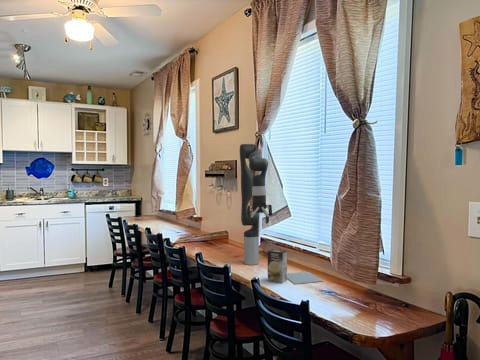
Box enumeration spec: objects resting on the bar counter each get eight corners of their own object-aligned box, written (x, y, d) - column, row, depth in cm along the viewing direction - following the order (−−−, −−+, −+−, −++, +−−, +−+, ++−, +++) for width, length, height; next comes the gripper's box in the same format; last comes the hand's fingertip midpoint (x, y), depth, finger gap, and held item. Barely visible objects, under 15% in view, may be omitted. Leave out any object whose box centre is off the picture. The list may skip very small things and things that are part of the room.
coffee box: (266, 280, 193) (266, 250, 192) (272, 277, 198) (271, 248, 198) (282, 283, 188) (282, 252, 188) (287, 280, 194) (287, 250, 193)
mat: (281, 274, 203) (281, 274, 203) (307, 272, 207) (307, 271, 207) (294, 284, 186) (294, 283, 186) (323, 281, 190) (323, 280, 190)
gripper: (268, 193, 206) (269, 222, 206) (244, 194, 202) (245, 223, 202) (273, 194, 198) (274, 224, 198) (248, 195, 195) (249, 225, 195)
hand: (259, 223), depth 200 cm, fingers open, 8 cm apart
